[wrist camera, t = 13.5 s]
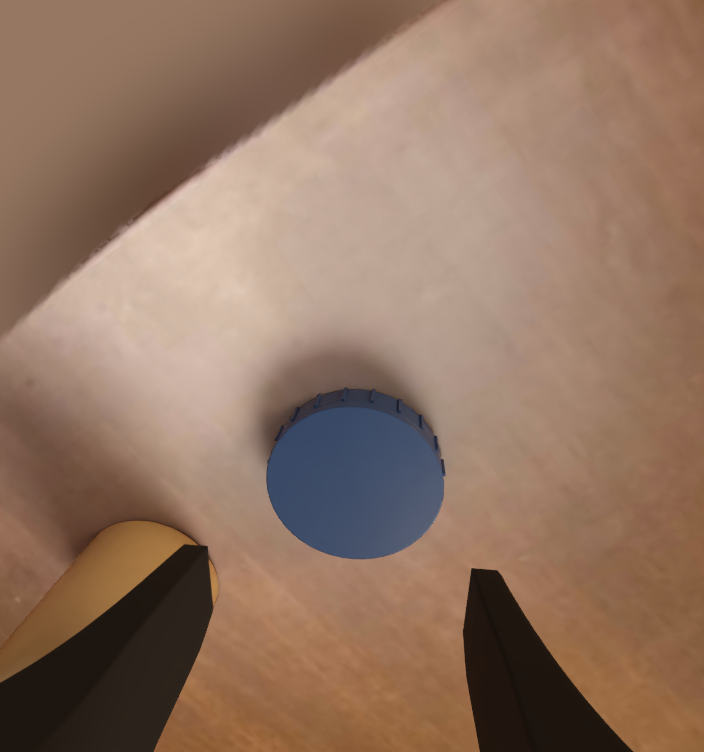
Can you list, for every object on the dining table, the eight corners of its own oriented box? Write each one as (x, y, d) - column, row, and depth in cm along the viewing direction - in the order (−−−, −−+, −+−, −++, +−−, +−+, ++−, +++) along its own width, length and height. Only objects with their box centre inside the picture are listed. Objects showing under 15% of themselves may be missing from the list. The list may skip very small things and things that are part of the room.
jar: (61, 573, 22) (-124, 790, 14) (132, 493, 20) (-36, 692, 12) (169, 648, 23) (50, 888, 15) (246, 579, 21) (155, 812, 13)
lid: (435, 540, 19) (437, 567, 18) (277, 527, 20) (267, 553, 18) (450, 392, 17) (454, 410, 16) (271, 381, 18) (261, 399, 16)
